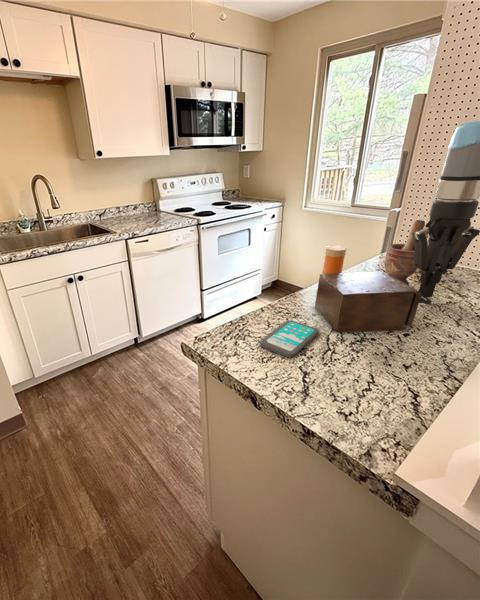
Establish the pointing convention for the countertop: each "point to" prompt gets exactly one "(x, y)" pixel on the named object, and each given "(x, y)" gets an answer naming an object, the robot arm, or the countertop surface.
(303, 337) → the smartphone
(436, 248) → the robot arm
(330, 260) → the spice jar
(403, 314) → the cabinet
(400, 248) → the mortar and pestle
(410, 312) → the drawer
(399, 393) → the countertop surface
